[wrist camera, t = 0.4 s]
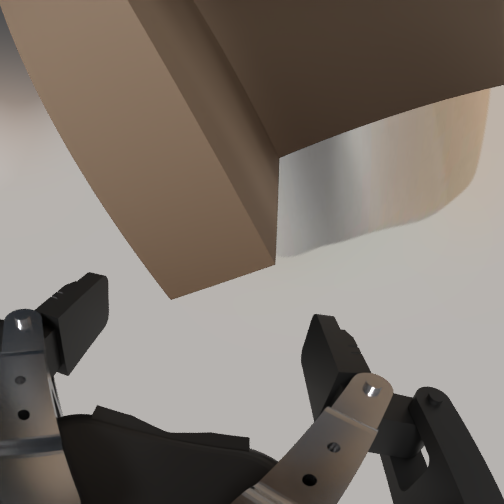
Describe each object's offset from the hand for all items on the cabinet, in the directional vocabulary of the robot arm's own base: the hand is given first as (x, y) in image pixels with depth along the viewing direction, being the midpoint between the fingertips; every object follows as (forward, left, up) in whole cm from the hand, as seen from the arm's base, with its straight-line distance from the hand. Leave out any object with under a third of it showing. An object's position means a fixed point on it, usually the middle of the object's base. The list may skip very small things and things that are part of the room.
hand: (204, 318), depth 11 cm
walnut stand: (-11, +9, -29) cm, 32 cm away
